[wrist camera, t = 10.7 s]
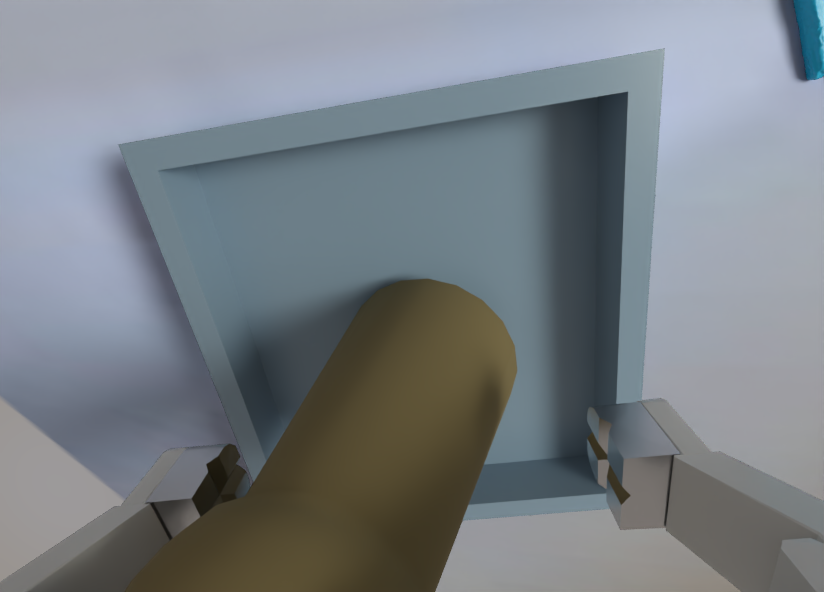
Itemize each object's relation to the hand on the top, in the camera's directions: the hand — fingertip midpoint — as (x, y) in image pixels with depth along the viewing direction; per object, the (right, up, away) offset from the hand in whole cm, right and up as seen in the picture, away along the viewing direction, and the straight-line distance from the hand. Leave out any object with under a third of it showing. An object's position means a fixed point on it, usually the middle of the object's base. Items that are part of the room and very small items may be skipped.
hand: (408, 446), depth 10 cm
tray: (0, +3, +6) cm, 7 cm away
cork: (+1, +1, +5) cm, 5 cm away
